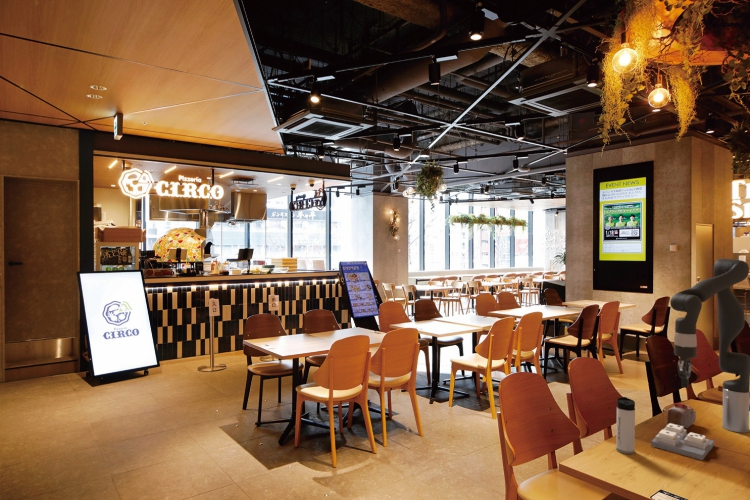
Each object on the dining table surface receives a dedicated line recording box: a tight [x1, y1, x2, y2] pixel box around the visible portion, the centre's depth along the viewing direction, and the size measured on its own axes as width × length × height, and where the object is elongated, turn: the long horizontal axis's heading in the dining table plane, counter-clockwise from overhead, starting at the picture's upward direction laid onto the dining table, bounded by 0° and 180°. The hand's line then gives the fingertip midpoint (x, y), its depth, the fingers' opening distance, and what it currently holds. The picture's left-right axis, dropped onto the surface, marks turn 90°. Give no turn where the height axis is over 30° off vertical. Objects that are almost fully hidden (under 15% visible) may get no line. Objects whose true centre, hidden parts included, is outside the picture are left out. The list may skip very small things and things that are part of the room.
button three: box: [687, 432, 706, 443], centre depth 183 cm, size 5×5×2 cm
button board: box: [650, 427, 715, 461], centre depth 186 cm, size 19×17×4 cm
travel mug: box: [615, 396, 636, 455], centre depth 181 cm, size 6×7×20 cm
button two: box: [665, 423, 685, 433], centre depth 193 cm, size 5×5×2 cm
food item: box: [666, 402, 697, 429], centre depth 208 cm, size 14×8×10 cm, turn 127°
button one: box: [658, 428, 677, 440], centre depth 186 cm, size 5×5×2 cm
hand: (684, 387), depth 188 cm, fingers closed
